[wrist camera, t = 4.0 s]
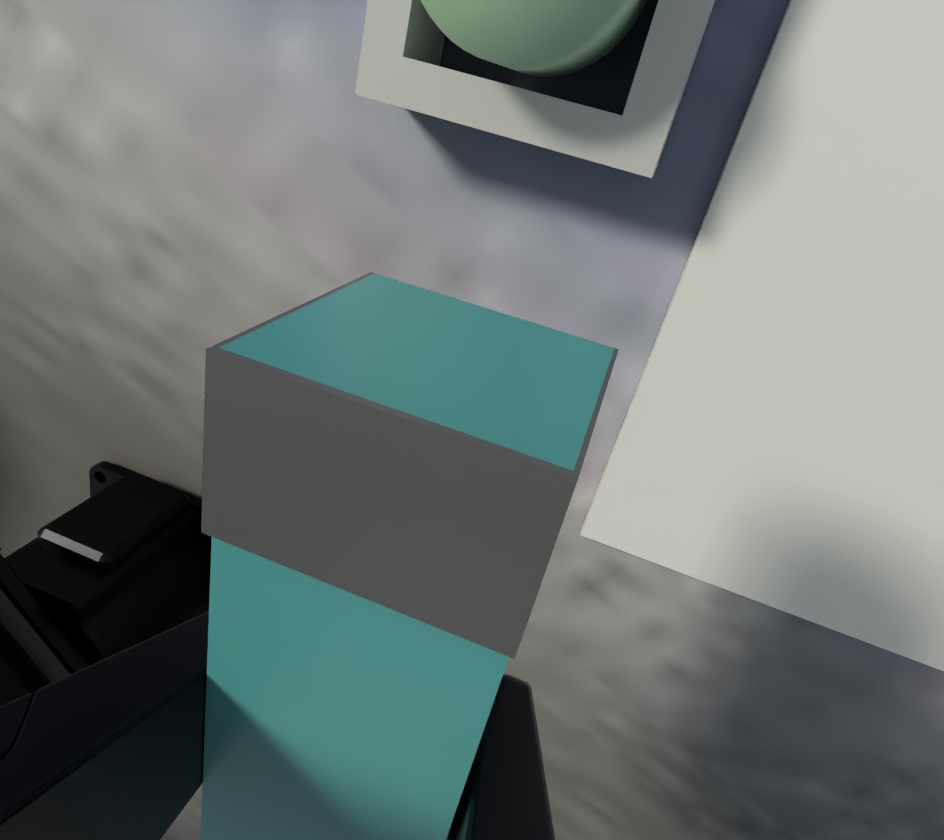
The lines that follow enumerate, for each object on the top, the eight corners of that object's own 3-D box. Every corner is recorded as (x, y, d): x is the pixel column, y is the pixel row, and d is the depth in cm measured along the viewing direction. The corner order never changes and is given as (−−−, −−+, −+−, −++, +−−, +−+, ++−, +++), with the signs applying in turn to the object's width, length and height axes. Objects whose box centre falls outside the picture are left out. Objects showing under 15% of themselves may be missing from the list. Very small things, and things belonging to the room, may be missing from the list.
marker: (443, 849, 13) (374, 1057, 10) (296, 781, 13) (189, 959, 11) (618, 349, 8) (577, 478, 5) (370, 272, 8) (205, 348, 6)
